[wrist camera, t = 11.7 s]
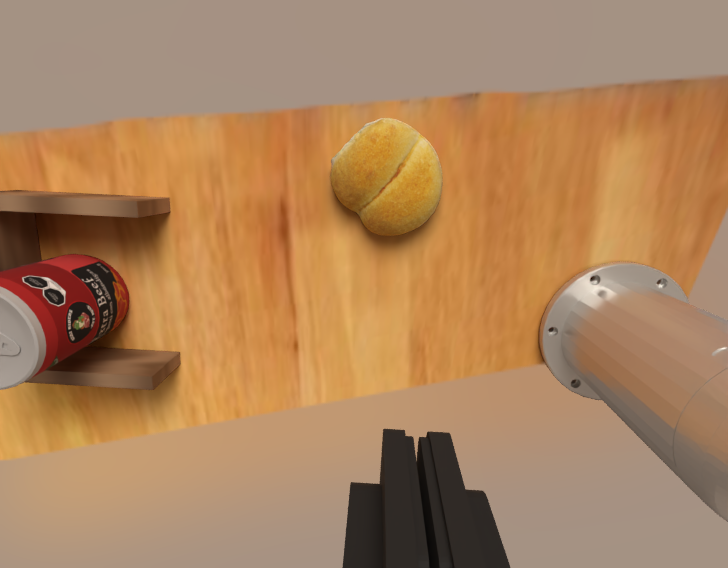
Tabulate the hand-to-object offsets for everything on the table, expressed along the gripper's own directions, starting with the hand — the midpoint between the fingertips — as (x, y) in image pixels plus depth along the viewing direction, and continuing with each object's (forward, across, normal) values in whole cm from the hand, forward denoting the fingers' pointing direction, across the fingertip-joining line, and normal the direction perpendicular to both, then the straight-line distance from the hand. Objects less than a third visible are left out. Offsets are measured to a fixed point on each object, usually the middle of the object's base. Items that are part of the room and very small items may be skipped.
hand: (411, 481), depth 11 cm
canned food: (+27, +27, +4) cm, 39 cm away
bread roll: (+28, +1, -7) cm, 28 cm away
